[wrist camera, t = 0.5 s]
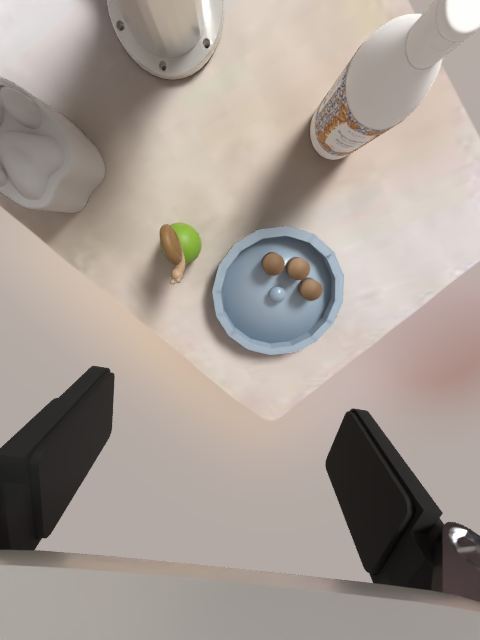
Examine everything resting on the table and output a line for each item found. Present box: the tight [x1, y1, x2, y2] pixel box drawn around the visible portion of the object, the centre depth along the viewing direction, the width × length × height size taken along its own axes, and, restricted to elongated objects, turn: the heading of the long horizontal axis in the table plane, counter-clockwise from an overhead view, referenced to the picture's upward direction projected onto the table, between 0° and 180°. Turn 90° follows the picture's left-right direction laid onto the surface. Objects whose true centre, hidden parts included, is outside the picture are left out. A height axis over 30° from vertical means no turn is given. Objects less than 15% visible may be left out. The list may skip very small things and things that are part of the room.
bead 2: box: [285, 257, 310, 280], centre depth 37 cm, size 3×3×2 cm
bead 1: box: [262, 252, 285, 276], centre depth 36 cm, size 3×3×2 cm
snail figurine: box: [160, 223, 201, 284], centre depth 32 cm, size 5×6×12 cm
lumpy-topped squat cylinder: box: [0, 77, 105, 213], centre depth 29 cm, size 10×13×9 cm
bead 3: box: [298, 277, 322, 301], centre depth 38 cm, size 3×3×2 cm
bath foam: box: [310, 0, 480, 160], centre depth 23 cm, size 7×7×20 cm
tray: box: [212, 226, 344, 355], centre depth 39 cm, size 19×19×3 cm
